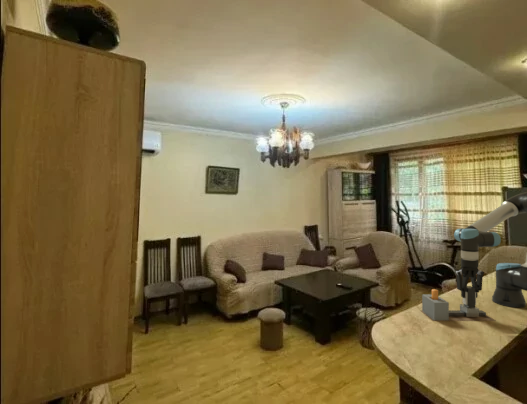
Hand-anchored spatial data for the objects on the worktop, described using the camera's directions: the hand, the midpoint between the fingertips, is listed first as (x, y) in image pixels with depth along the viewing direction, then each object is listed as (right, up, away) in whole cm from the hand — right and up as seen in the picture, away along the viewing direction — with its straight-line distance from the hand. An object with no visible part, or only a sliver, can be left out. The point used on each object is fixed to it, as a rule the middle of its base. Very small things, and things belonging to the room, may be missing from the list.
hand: (469, 303), depth 154 cm
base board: (-6, -7, 0) cm, 9 cm away
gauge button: (-17, -1, 0) cm, 18 cm away
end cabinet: (-17, -6, +1) cm, 19 cm away
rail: (-3, -6, 0) cm, 7 cm away
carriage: (0, -6, 0) cm, 6 cm away
